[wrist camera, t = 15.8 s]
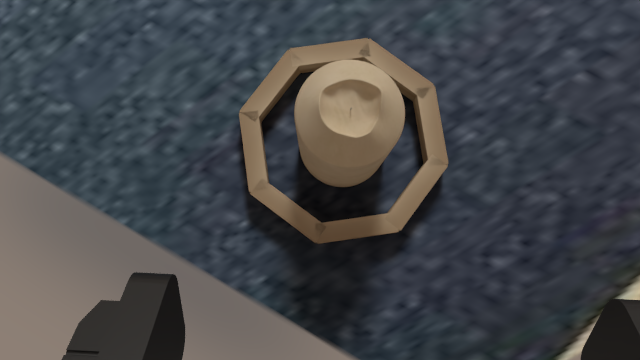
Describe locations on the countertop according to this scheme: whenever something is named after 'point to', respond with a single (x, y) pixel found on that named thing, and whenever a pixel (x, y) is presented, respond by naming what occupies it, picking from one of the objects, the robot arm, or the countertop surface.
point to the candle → (347, 121)
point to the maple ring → (310, 61)
